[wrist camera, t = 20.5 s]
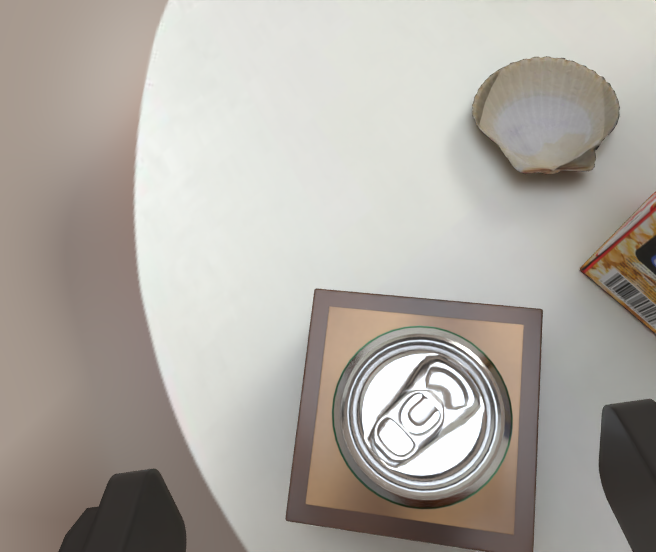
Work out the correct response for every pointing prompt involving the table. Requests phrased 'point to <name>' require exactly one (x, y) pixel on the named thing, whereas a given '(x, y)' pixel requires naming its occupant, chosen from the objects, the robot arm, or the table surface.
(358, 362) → the soda can
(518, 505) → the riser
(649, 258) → the popcorn box
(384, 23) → the table surface
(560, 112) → the seashell
